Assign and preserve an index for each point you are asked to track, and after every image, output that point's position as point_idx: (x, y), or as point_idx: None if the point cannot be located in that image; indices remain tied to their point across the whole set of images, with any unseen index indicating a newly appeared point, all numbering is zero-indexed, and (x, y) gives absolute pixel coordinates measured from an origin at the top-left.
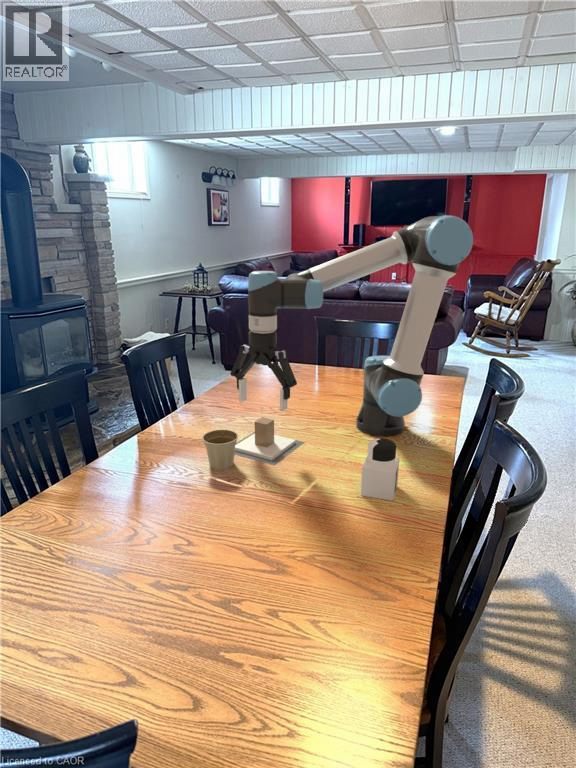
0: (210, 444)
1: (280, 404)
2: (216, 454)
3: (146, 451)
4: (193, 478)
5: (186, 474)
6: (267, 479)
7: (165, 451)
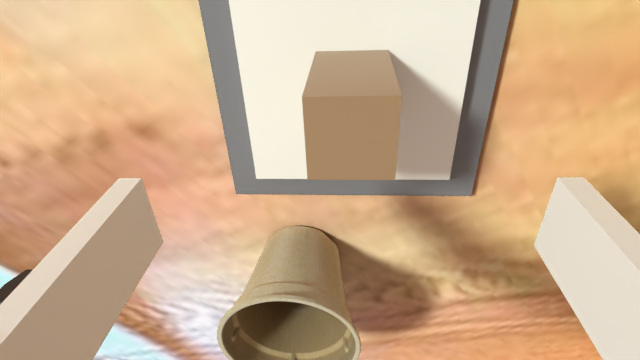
0: None
1: (566, 289)
2: (314, 333)
3: None
4: None
5: None
6: (480, 256)
7: None
